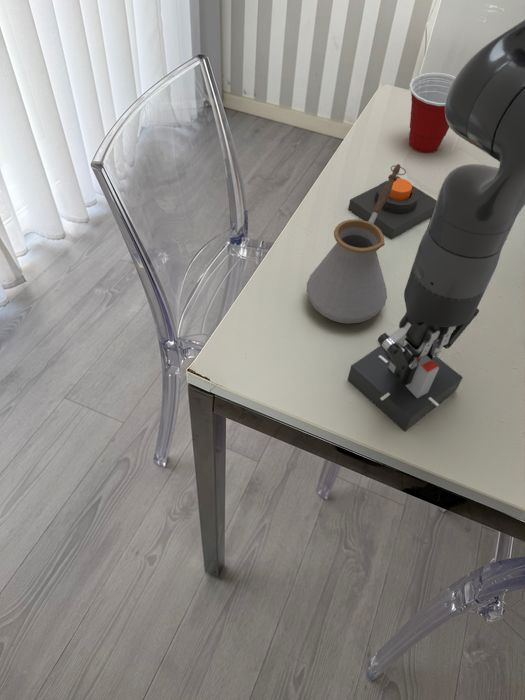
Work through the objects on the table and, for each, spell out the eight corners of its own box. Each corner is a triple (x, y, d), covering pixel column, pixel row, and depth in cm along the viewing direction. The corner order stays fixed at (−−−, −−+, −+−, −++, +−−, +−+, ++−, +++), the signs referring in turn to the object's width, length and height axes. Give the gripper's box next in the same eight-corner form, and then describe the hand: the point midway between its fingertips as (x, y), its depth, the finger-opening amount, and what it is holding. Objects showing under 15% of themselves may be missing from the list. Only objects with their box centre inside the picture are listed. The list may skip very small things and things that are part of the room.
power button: (396, 184, 97) (399, 175, 95) (414, 195, 95) (417, 186, 94) (380, 192, 95) (382, 183, 94) (398, 203, 93) (401, 194, 92)
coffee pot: (366, 345, 78) (390, 262, 66) (291, 315, 81) (301, 230, 69) (413, 256, 90) (440, 173, 79) (346, 233, 93) (363, 150, 82)
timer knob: (388, 367, 72) (397, 340, 68) (398, 362, 72) (408, 335, 68) (417, 398, 69) (428, 372, 65) (428, 392, 69) (440, 366, 65)
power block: (394, 186, 103) (399, 166, 100) (437, 213, 98) (444, 194, 95) (347, 210, 98) (351, 190, 94) (390, 240, 93) (396, 220, 90)
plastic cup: (386, 148, 111) (400, 87, 102) (409, 126, 117) (425, 66, 108) (437, 167, 107) (456, 106, 98) (459, 144, 113) (479, 84, 104)
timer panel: (398, 344, 78) (403, 329, 76) (461, 395, 73) (469, 380, 71) (342, 382, 74) (346, 367, 71) (405, 440, 68) (411, 426, 66)
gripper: (424, 318, 52) (385, 421, 65) (527, 270, 57) (471, 374, 70) (373, 270, 56) (346, 376, 69) (474, 228, 61) (430, 335, 74)
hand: (410, 375), depth 70 cm, fingers closed, pressing on timer knob
